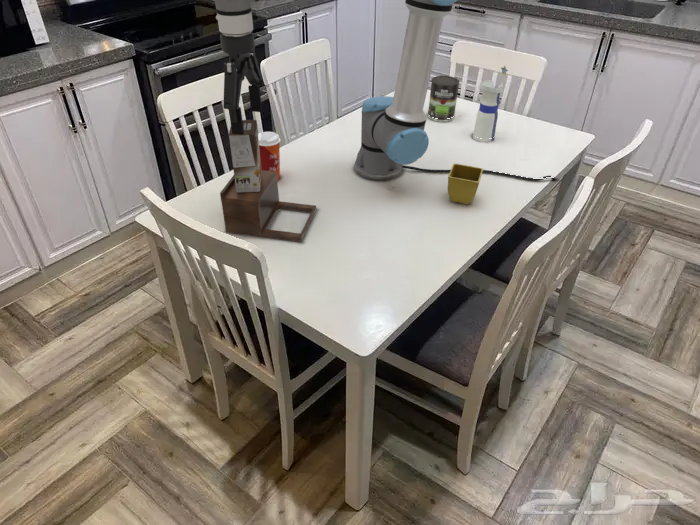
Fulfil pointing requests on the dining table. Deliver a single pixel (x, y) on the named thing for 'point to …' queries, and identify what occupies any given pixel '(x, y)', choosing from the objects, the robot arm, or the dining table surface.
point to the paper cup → (269, 152)
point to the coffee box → (246, 158)
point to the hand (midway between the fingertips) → (247, 122)
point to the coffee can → (443, 98)
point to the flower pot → (463, 183)
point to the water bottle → (488, 110)
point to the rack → (259, 209)
